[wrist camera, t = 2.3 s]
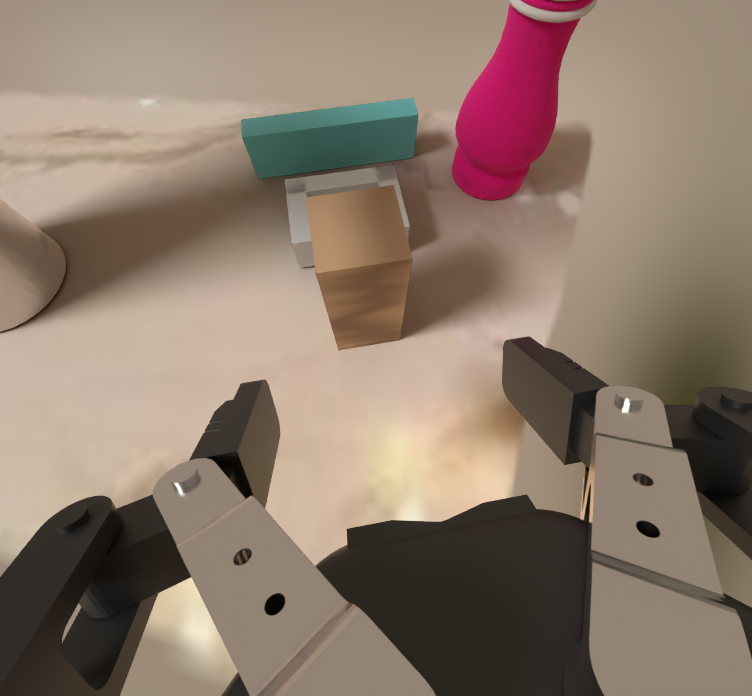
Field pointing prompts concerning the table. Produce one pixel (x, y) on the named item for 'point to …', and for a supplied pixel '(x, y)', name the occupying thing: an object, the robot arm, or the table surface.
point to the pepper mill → (515, 98)
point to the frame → (328, 185)
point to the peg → (361, 263)
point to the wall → (331, 137)
